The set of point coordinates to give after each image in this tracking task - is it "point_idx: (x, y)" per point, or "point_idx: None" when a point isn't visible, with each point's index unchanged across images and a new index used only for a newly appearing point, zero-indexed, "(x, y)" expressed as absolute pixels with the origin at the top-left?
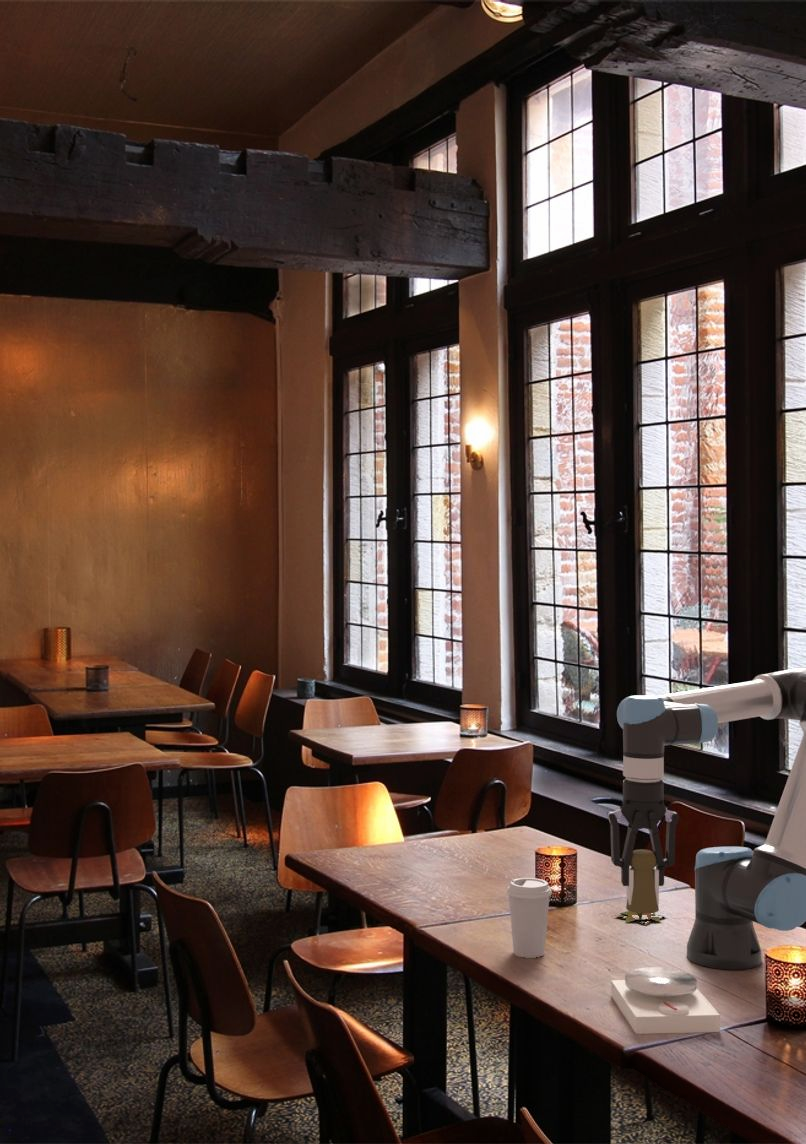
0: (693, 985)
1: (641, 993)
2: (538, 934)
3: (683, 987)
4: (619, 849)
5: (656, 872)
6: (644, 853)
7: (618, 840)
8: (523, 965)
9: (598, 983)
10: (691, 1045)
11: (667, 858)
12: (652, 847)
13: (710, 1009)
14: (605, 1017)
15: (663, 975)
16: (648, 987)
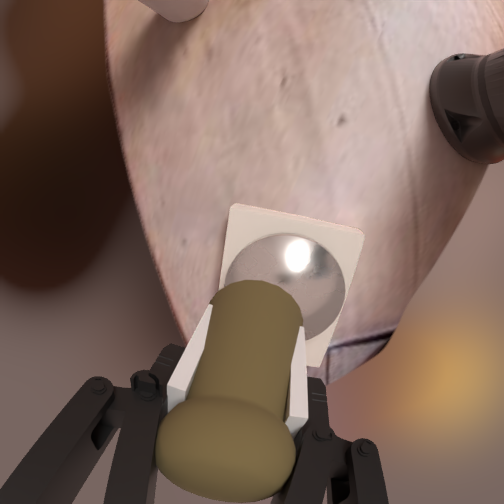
0: (319, 333)
1: None
2: (175, 6)
3: None
4: (93, 466)
5: None
6: (210, 498)
7: (72, 493)
8: (155, 50)
9: (238, 141)
10: None
11: (345, 470)
12: (285, 501)
13: (319, 352)
14: (197, 278)
15: (297, 283)
16: None
